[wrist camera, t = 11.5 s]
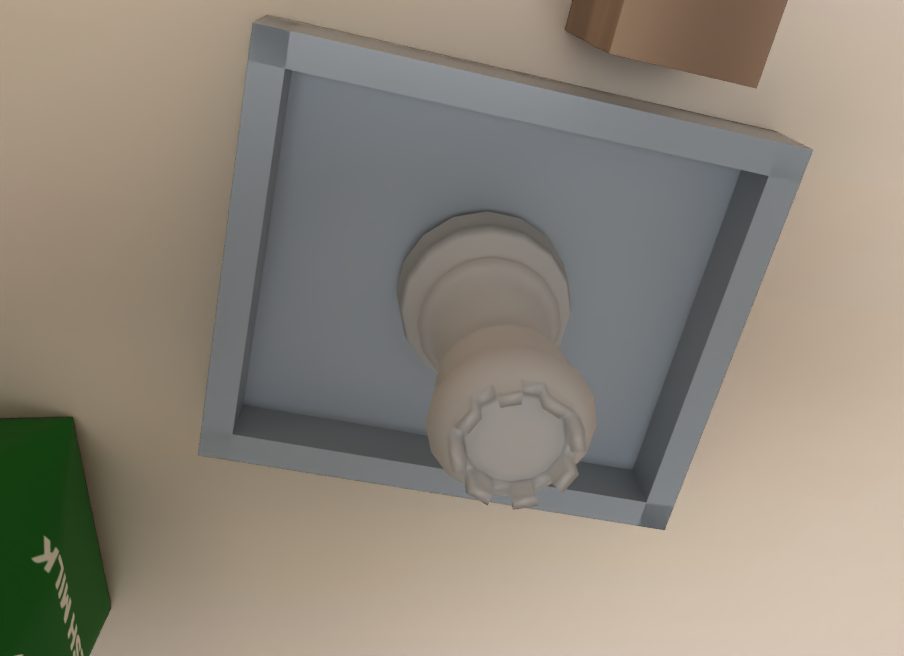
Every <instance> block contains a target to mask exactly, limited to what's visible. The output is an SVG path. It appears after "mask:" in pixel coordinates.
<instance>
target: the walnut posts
mask: <svg viewBox="0 0 904 656" xmlns="http://www.w3.org/2000/svg"><path fill="white" fill-rule="evenodd" d="M787 1H788V0H573V1H572V4H571V8H570V12H569V16H568V20H567V24H566V27H565V30H566V31H568V32H570V33H571V34H573V35H575V36H577V37H579V38H581V39H583V40H585V41H586V42H588V43H590V44H592V45H594V46H596V47H598V48H600V49H601V50H603V51H605V52H607V53H609V54H613V55H617V56H621V57H625V58H630V59H634V60H638V61H642V62H647V63H651V64H655V65H659V66H664V67H668V68H672V69H676V70H681V71H685V72H689V73H693V74H698V75H702V76H706V77H710V78H715V79H719V80H723V81H727V82H732V83H736V84H740V85H744V86H748V87H753V88H757V85H758V83H759V80H760V77H761V74H762V71H763V69H764V66H765V63H766V60H767V57H768V54H769V52H770V49H771V46H772V43H773V40H774V38H775V35H776V32H777V29H778V26H779V23H780V21H781V18H782V15H783V12H784V9H785V7H786V4H787Z"/></svg>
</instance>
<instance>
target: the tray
mask: <svg viewBox="0 0 904 656" xmlns="http://www.w3.org/2000/svg"><path fill="white" fill-rule="evenodd" d="M812 151H813V150H812V149H810V148H808V147H806V146H804V145H802V144H800V143H798V142H796V141H794V140H792V139H790V138H788V137H786V136H784V135H782V134H780V133H778V132H776V131H772V130H768V129H764V128H759V127H755V126H751V125H746V124H742V123H737V122H733V121H729V120H724V119H720V118H716V117H711V116H707V115H703V114H698V113H694V112H690V111H685V110H681V109H676V108H672V107H668V106H663V105H659V104H655V103H650V102H646V101H642V100H637V99H633V98H628V97H624V96H620V95H615V94H611V93H607V92H602V91H598V90H594V89H589V88H585V87H581V86H576V85H572V84H567V83H563V82H559V81H554V80H550V79H546V78H541V77H537V76H533V75H528V74H524V73H519V72H515V71H511V70H506V69H502V68H498V67H493V66H489V65H485V64H480V63H476V62H472V61H467V60H463V59H458V58H454V57H450V56H445V55H441V54H437V53H432V52H428V51H424V50H419V49H415V48H411V47H406V46H402V45H397V44H393V43H389V42H384V41H380V40H376V39H371V38H367V37H363V36H358V35H354V34H349V33H345V32H341V31H336V30H332V29H328V28H323V27H319V26H315V25H310V24H306V23H302V22H297V21H293V20H288V19H284V18H280V17H275V16H271V15H266V16H264V17H262V18H260V19H258V20H256V21H254V22H253V24H252V32H251V40H250V48H249V55H248V63H247V71H246V79H245V87H244V95H243V103H242V111H241V119H240V127H239V135H238V143H237V150H236V158H235V166H234V174H233V182H232V190H231V198H230V206H229V214H228V222H227V230H226V238H225V245H224V253H223V261H222V269H221V277H220V285H219V293H218V301H217V309H216V317H215V325H214V332H213V340H212V348H211V356H210V364H209V372H208V380H207V388H206V396H205V404H204V412H203V420H202V427H201V435H200V443H199V451H198V455H200V456H206V457H212V458H218V459H225V460H231V461H237V462H243V463H250V464H256V465H262V466H268V467H275V468H281V469H287V470H293V471H300V472H306V473H312V474H318V475H324V476H331V477H337V478H343V479H349V480H356V481H362V482H368V483H374V484H381V485H387V486H393V487H399V488H406V489H412V490H418V491H424V492H430V493H437V494H443V495H449V496H455V497H462V498H468V499H474V500H478V499H476V498H474V497H472V496H471V495H469V494H467V493H466V488H465V485H464V484H463V483H461V482H459V481H458V480H456V479H454V478H452V477H451V476H449V475H448V474H447V473H446V471H445V470H444V469H443V467H442V466H441V465H440V463H439V462H438V461H437V459H436V458H435V457H434V455H433V454H432V452H431V450H430V445H429V439H428V434H427V429H426V424H425V423H426V419H427V415H428V411H429V407H430V404H431V400H432V396H433V394H434V392H435V382H436V379H437V375H438V373H437V372H435V371H433V370H432V369H430V368H428V367H427V366H426V365H425V364H424V363H423V361H422V360H421V359H420V357H419V356H418V354H417V353H416V352H415V350H414V349H413V347H412V346H411V345H410V343H409V342H408V340H407V339H406V338H405V335H404V330H403V325H402V320H401V315H400V310H399V304H398V299H397V294H396V292H397V288H398V283H399V279H400V275H401V270H402V266H403V262H404V260H405V259H406V258H407V256H408V255H409V254H410V252H411V251H412V250H413V248H414V247H415V246H416V244H417V243H418V241H419V240H420V239H421V237H422V236H423V235H424V234H426V233H427V232H429V231H431V230H432V229H434V228H436V227H437V226H439V225H441V224H442V223H444V222H446V221H447V220H449V219H451V218H452V217H456V216H462V215H468V214H474V213H480V212H486V211H489V212H493V213H498V214H502V215H507V216H511V217H516V218H520V219H522V220H524V221H525V222H527V223H528V224H529V225H531V226H532V227H534V228H535V229H537V230H538V231H539V232H541V233H542V234H544V235H545V236H546V237H548V238H549V240H550V242H551V243H552V245H553V247H554V248H555V250H556V252H557V253H558V255H559V257H560V258H561V260H562V262H563V263H564V265H565V274H566V276H567V278H568V284H569V294H570V303H571V312H570V316H569V319H568V322H567V325H566V328H565V331H564V335H563V338H562V341H561V344H560V345H559V346H558V348H559V349H560V351H561V353H562V354H563V356H564V357H565V359H566V361H567V362H568V364H569V365H571V366H572V367H574V368H575V369H577V370H578V371H579V373H580V374H581V376H582V377H583V379H584V381H585V382H586V384H587V385H588V387H589V389H590V390H591V392H592V393H593V395H594V401H595V411H596V421H597V426H596V429H595V432H594V434H593V437H592V440H591V443H590V446H589V448H588V451H587V453H586V454H585V455H584V457H583V458H582V459H581V460H580V461H579V462H578V463H577V464H576V466H577V470H578V473H579V475H578V476H577V478H576V479H575V480H574V481H573V482H572V483H571V484H570V485H569V486H568V487H567V489H566V490H565V491H564V492H563V493H562V492H561V491H559V490H558V489H557V488H556V487H555V486H554V485H553V484H550V485H548V486H546V487H544V488H542V489H540V490H538V491H536V494H537V499H538V503H539V505H538V506H532V507H526V508H530V509H536V510H543V511H549V512H555V513H561V514H568V515H574V516H580V517H586V518H593V519H599V520H605V521H611V522H618V523H624V524H630V525H636V526H642V527H649V528H655V529H661V530H665V528H666V525H667V522H668V520H669V517H670V515H671V512H672V510H673V507H674V504H675V502H676V499H677V497H678V494H679V492H680V489H681V487H682V484H683V481H684V479H685V476H686V474H687V471H688V469H689V466H690V464H691V461H692V458H693V456H694V453H695V451H696V448H697V446H698V443H699V440H700V438H701V435H702V433H703V430H704V428H705V425H706V423H707V420H708V417H709V415H710V412H711V410H712V407H713V405H714V402H715V400H716V397H717V394H718V392H719V389H720V387H721V384H722V382H723V379H724V377H725V374H726V371H727V369H728V366H729V364H730V361H731V359H732V356H733V353H734V351H735V348H736V346H737V343H738V341H739V338H740V336H741V333H742V330H743V328H744V325H745V323H746V320H747V318H748V315H749V313H750V310H751V307H752V305H753V302H754V300H755V297H756V295H757V292H758V290H759V287H760V284H761V282H762V279H763V277H764V274H765V272H766V269H767V266H768V264H769V261H770V259H771V256H772V254H773V251H774V249H775V246H776V243H777V241H778V238H779V236H780V233H781V231H782V228H783V226H784V223H785V220H786V218H787V215H788V213H789V210H790V208H791V205H792V203H793V200H794V197H795V195H796V192H797V190H798V187H799V185H800V182H801V179H802V177H803V174H804V172H805V169H806V167H807V164H808V162H809V159H810V156H811V154H812ZM490 502H493V503H499V504H505V505H512V502H511V497H510V495H508V496H504V495H498V494H494V495H493V496H492V498H491V500H490Z"/></svg>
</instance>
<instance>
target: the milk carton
mask: <svg viewBox="0 0 904 656" xmlns="http://www.w3.org/2000/svg"><path fill="white" fill-rule="evenodd" d="M110 610H111V605H110V600H109V595H108V590H107V585H106V580H105V575H104V570H103V565H102V560H101V556H100V551H99V546H98V541H97V536H96V531H95V526H94V521H93V516H92V511H91V506H90V502H89V497H88V492H87V487H86V482H85V477H84V472H83V467H82V462H81V457H80V452H79V448H78V443H77V438H76V433H75V428H74V423H73V418H72V417H61V418H19V419H0V656H16V655H21V654H22V655H23V656H89V655H90V653H91V651H92V649H93V646H94V644H95V642H96V640H97V637H98V635H99V633H100V631H101V629H102V627H103V624H104V622H105V620H106V618H107V616H108V614H109V612H110Z"/></svg>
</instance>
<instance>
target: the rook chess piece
mask: <svg viewBox="0 0 904 656" xmlns="http://www.w3.org/2000/svg"><path fill="white" fill-rule="evenodd" d="M396 294H397V299H398V304H399V310H400V315H401V320H402V325H403V330H404V335H405V338H406V339H407V340H408V342H409V343H410V345H411V346H412V347H413V349H414V350H415V352H416V353H417V354H418V356H419V357H420V359H421V360H422V361H423V363H424V364H425V365H426V366H427V367H428V368H430V369H432V370H433V371H435V372H437V373H438V375H437V379H436V382H435V392H434V394H433V396H432V400H431V404H430V407H429V411H428V415H427V419H426V423H425V424H426V429H427V434H428V439H429V445H430V450H431V452H432V454H433V455H434V457H435V458H436V459H437V461H438V462H439V463H440V465H441V466H442V467H443V469H444V470H445V471H446V473H447V474H448V475H449V476H451V477H452V478H454V479H456V480H458V481H459V482H461V483H463V484H464V485H465V488H466V493H467V494H469V495H471V496H472V497H474V498H476V499H478V500H479V501H481V502H483V503H484V504H486V505H488V503H489V502H490V500H491V498H492V496H493V495H494V494H498V495H504V496H508V495H510V497H511V502H512V507H513V509H519V508H526V507H532V506H538V505H539V503H538V499H537V494H536V491H538V490H540V489H542V488H544V487H546V486H548V485H550V484H553V485H554V486H555V487H556V488H557V489H558V490H559V491H561V492H562V493H563V492H564V491H565V490H566V489H567V487H568V486H569V485H570V484H571V483H572V482H573V481H574V480H575V479H576V478H577V476H578V475H579V473H578V470H577V466H576V464H577V463H578V462H579V461H580V460H581V459H582V458H583V457H584V455H585V454H586V453H587V451H588V448H589V446H590V443H591V440H592V437H593V434H594V432H595V429H596V426H597V421H596V411H595V401H594V395H593V393H592V392H591V390H590V389H589V387H588V385H587V384H586V382H585V381H584V379H583V377H582V376H581V374H580V373H579V371H578V370H577V369H575V368H574V367H572V366H571V365H569V364H568V362H567V361H566V359H565V357H564V356H563V354H562V353H561V351H560V349H559V348H558V346H559V345H560V344H561V341H562V338H563V335H564V331H565V328H566V325H567V322H568V319H569V316H570V312H571V303H570V294H569V284H568V278H567V276H566V274H565V265H564V263H563V262H562V260H561V258H560V257H559V255H558V253H557V252H556V250H555V248H554V247H553V245H552V243H551V242H550V240H549V238H548V237H546V236H545V235H544V234H542V233H541V232H539V231H538V230H537V229H535V228H534V227H532V226H531V225H529V224H528V223H527V222H525V221H524V220H522V219H520V218H516V217H511V216H507V215H502V214H498V213H493V212H489V211H486V212H480V213H474V214H468V215H462V216H456V217H452V218H451V219H449V220H447V221H446V222H444V223H442V224H441V225H439V226H437V227H436V228H434V229H432V230H431V231H429V232H427V233H426V234H424V235H423V236H422V237H421V239H420V240H419V241H418V243H417V244H416V246H415V247H414V248H413V250H412V251H411V252H410V254H409V255H408V256H407V258H406V259H405V260H404V262H403V266H402V270H401V275H400V279H399V283H398V288H397V292H396Z"/></svg>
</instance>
